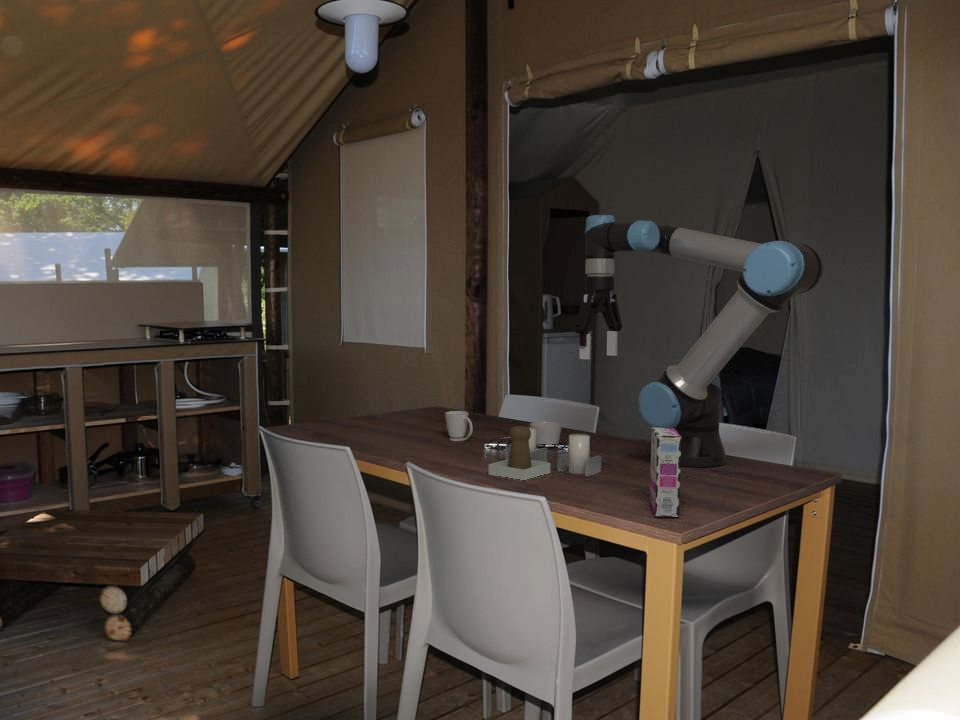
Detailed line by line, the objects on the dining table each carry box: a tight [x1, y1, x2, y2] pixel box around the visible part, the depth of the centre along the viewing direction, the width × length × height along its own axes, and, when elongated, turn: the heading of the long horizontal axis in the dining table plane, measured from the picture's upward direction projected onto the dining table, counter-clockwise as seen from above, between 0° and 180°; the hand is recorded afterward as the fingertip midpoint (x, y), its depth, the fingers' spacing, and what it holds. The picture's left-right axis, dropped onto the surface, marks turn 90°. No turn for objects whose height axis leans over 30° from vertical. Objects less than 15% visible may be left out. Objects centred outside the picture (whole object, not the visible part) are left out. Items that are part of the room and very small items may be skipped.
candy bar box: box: [649, 427, 682, 518], centre depth 172 cm, size 11×5×16 cm, turn 175°
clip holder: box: [504, 445, 602, 477], centre depth 213 cm, size 25×6×4 cm, turn 51°
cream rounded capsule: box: [527, 426, 537, 456], centre depth 218 cm, size 5×5×9 cm
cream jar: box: [568, 433, 591, 475], centre depth 208 cm, size 5×5×9 cm
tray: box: [488, 459, 551, 481], centre depth 206 cm, size 11×11×2 cm
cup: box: [444, 410, 474, 442], centre depth 250 cm, size 7×10×8 cm
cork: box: [508, 425, 532, 470], centre depth 206 cm, size 6×6×11 cm
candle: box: [529, 421, 563, 445], centre depth 241 cm, size 9×9×6 cm
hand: (598, 357), depth 223 cm, fingers open, 13 cm apart
